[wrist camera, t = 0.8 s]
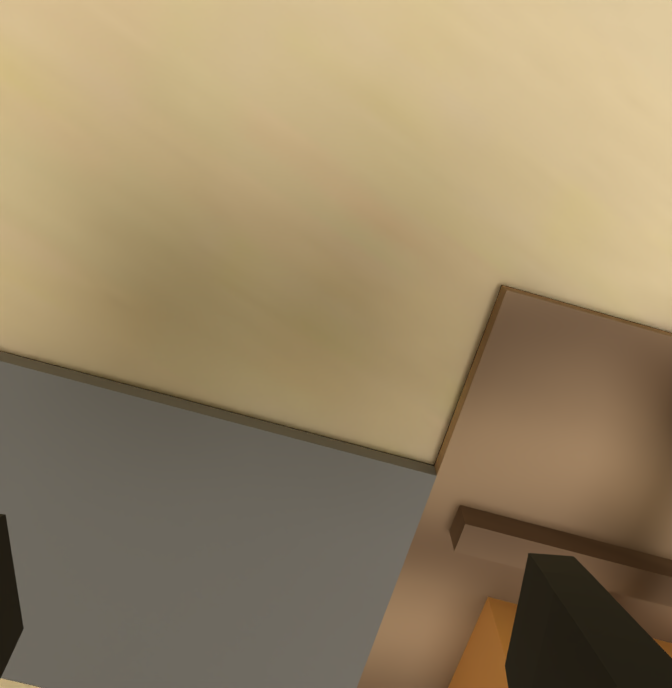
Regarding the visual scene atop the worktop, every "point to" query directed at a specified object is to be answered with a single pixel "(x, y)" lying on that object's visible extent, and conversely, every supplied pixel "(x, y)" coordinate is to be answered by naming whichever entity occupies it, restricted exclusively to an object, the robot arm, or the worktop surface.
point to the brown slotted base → (539, 482)
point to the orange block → (493, 648)
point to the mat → (191, 539)
